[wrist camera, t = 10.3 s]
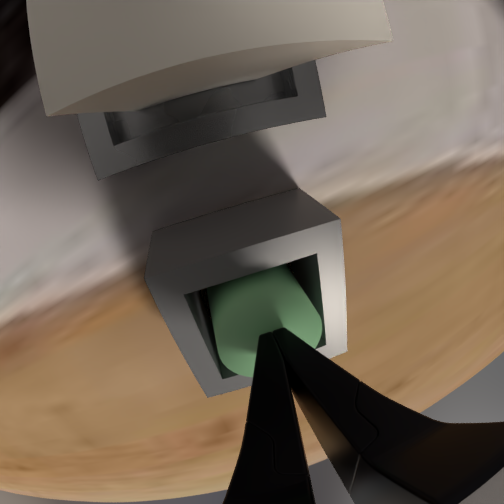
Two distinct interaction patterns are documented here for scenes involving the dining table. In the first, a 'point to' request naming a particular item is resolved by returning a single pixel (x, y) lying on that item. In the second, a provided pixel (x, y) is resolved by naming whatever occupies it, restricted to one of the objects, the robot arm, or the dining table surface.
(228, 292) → the button
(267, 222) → the grey square tube
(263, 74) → the seated billet
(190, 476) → the dining table surface
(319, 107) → the tray
